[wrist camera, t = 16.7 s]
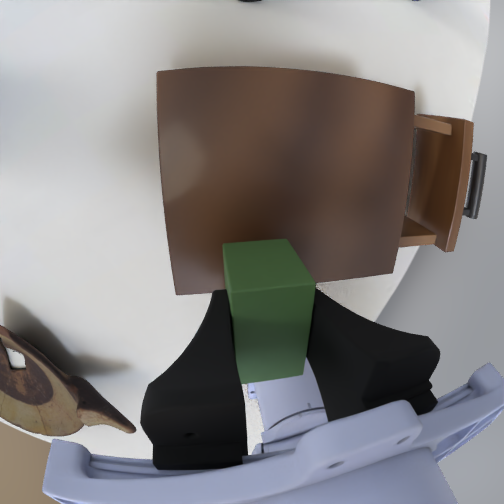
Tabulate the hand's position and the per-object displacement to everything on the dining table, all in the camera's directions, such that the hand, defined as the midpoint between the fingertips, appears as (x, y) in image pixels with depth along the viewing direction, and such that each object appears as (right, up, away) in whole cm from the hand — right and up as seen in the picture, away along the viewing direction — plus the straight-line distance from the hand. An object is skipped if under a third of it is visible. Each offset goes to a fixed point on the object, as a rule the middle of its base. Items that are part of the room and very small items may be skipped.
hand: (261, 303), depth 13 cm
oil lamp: (-29, -13, +13) cm, 34 cm away
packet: (0, +1, +1) cm, 1 cm away
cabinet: (+1, +9, +8) cm, 12 cm away
